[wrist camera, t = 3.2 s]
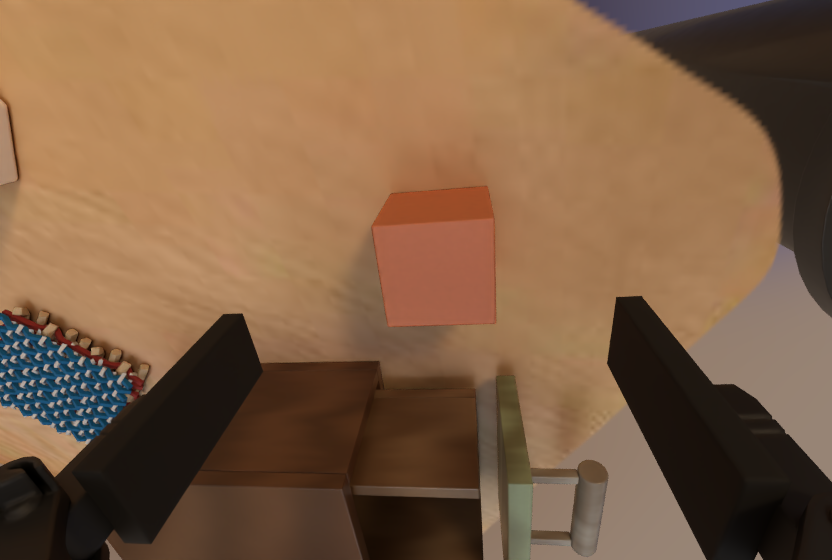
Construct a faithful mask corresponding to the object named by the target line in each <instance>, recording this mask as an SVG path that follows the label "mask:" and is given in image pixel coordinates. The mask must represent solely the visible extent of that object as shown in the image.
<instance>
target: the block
mask: <svg viewBox="0 0 832 560" xmlns="http://www.w3.org/2000/svg"><path fill="white" fill-rule="evenodd" d="M371 228H372V234H373V240H374V246H375V252H376V259H377V265H378V271H379V277H380V283H381V289H382V295H383V301H384V307H385V313H386V319H387V325H388V327H403V326H437V325H470V324H495V323H496V277H495V220H494V215H493V210H492V205H491V201H490V196H489V191H488V187H487V186H484V187H472V188H459V189H446V190H433V191H420V192H407V193H395V194H390V196H389V198H388V199H387V201H386V203H385V204H384V206H383V208H382V209H381V211H380V213H379V215H378V216H377V218H376V220H375V221H374V223H373V225H372V227H371Z"/></svg>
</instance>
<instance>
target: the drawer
mask: <svg viewBox="0 0 832 560" xmlns="http://www.w3.org/2000/svg"><path fill="white" fill-rule="evenodd" d="M496 395H497V448H498V498H499V510H500V522H501V534H502V546H503V558H504V560H530V547H531V544H540V545H561V546H572V548H573V549H574V551H575V552H576V553H578V554H579V555H581V556H586V557H588V556H591V555H593V554H594V553H595V551H596V547H597V542H598V536H599V529H600V524H601V518H602V512H603V506H604V500H605V493H606V488H607V482H608V473H607V471H606V469H605V467H604V466H603V465H602V464H600V463H599V462H596V461H593V460H585V461H582V462H581V463H580V464H579V466H578V470H576V469H539V468H530V463H529V458H528V452H527V446H526V440H525V434H524V428H523V422H522V416H521V411H520V405H519V399H518V393H517V387H516V381H515V376H496ZM533 483H546V484H547V483H548V484H576V488H575V497H574V505H573V514H572V523H571V532H570V533H569V532H560V531H535V530H531V522H532V498H533ZM349 485H350V489H351V493H352V496H353V500H354V504H355V507H356V511H357V515H358V518H359V522H360V526H361V529H362V533H363V536H364V540H365V544H366V547H367V551H368V555H369V558H370V560H483V540H482V516H481V493H480V473H479V453H478V433H477V413H476V393H475V389H399V390H376V391H375V394H374V398H373V402H372V405H371V409H370V413H369V416H368V420H367V423H366V427H365V431H364V434H363V438H362V442H361V445H360V449H359V453H358V456H357V460H356V464H355V467H354V471H353V474H352V478H351V482H350V484H349Z"/></svg>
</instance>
